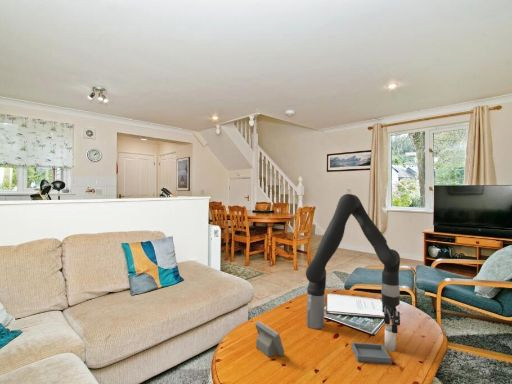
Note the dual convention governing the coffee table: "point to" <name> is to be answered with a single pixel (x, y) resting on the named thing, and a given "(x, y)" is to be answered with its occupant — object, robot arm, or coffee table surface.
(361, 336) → the coffee table surface
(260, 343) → the digital clock
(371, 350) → the tray
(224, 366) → the coffee table surface
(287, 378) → the coffee table surface
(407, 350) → the coffee table surface
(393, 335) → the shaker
